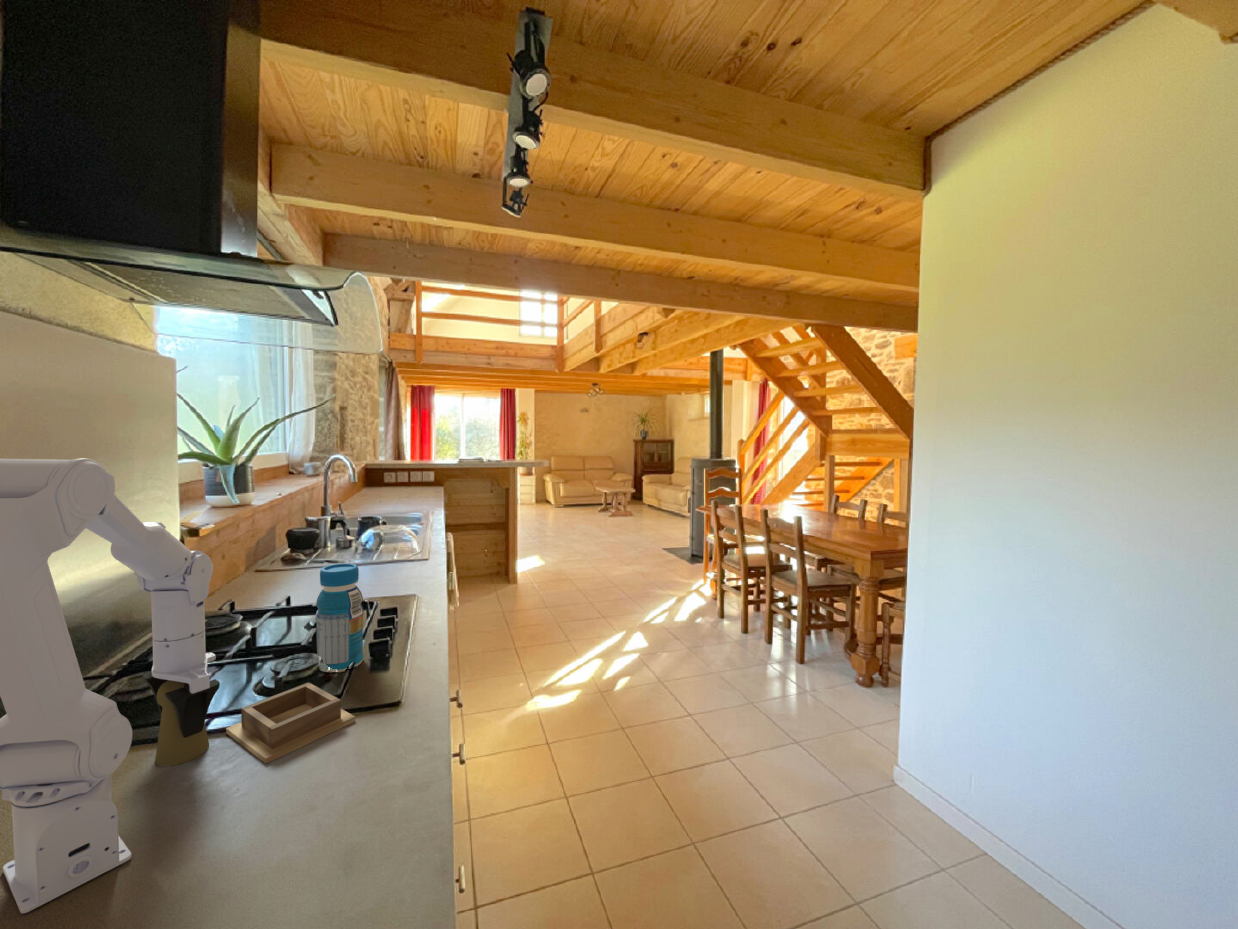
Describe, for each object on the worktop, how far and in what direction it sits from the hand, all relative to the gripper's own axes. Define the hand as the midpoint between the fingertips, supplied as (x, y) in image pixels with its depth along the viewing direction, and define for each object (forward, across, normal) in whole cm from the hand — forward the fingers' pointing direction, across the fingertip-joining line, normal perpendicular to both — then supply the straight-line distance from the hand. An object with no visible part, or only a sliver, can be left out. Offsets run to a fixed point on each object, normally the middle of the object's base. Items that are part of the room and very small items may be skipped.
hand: (182, 725), depth 74 cm
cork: (+4, 0, 0) cm, 4 cm away
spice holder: (+4, -6, -12) cm, 14 cm away
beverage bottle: (+4, +9, -28) cm, 30 cm away
